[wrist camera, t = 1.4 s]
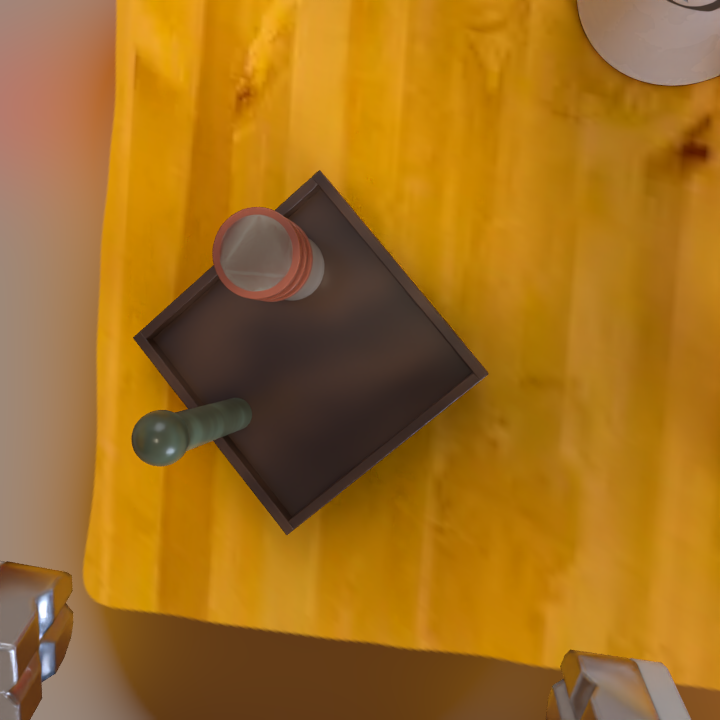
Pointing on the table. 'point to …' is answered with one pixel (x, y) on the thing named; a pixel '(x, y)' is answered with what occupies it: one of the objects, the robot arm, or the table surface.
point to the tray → (300, 355)
